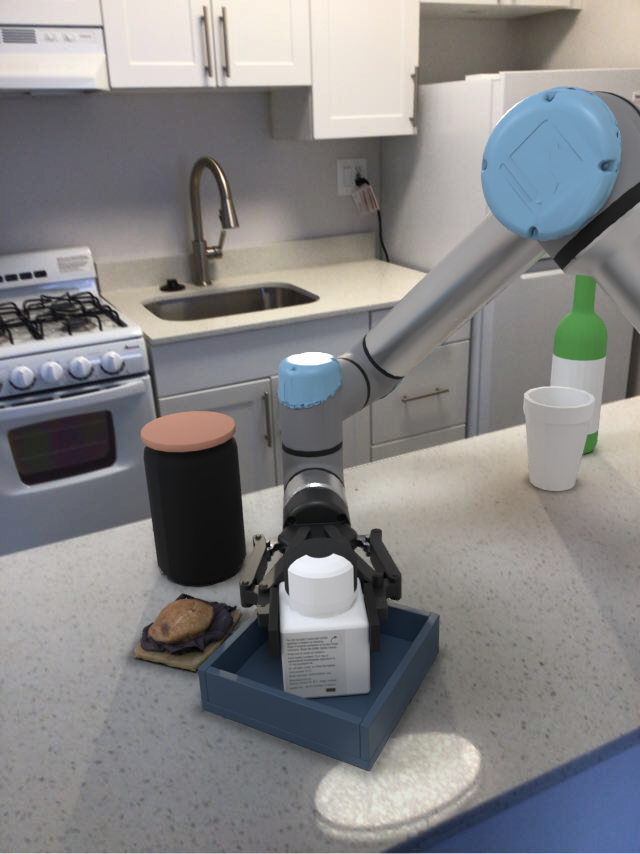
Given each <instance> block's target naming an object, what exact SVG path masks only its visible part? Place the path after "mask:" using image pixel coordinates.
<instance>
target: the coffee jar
mask: <svg viewBox="0 0 640 854" xmlns="http://www.w3.org/2000/svg"><path fill="white" fill-rule="evenodd" d="M235 421H236V420H235V419H234V418H232V417H231V416H229V415H227V414H224V413H221V412H216V411H210V410H209V411H208V410H189V411H181V412H175V413H171V414H166V415H163V416H160V417H157V418H154V419H153V420H151V421H149V422H148V423H146V424H144V426H143V427H142V428H141V430H140V438H141V442H142V443H143V444H144V445H145V447H144V449H143V464H144V472H145V480H146V487H147V496H148V501H149V502H148V503H149V509H150V517H151V525H152V533H153V540H154V541H153V542H154V548H155V554H156V564H157V567H158V568H159V570H160V571H161V572H162V574H163V575H164V576H166V578H167V579H168V580H170V581H171V582H173V583H175V584H178V585H182V586H186V587H203V586H211V585H215V584H217V583H220V582H223V581H226V580H227V579H229V578H231V577H233V576H234V575H235V574H236V573H237V572H238V571H239V570H240V568H241V566H242V565H243V563H244V561H245V559H246V556H247V545H246V532H245V520H244V518H245V517H244V506H243V496H242V484H241V483H242V482H241V473H240V460H239V459H240V458H239V448H238V444H237V440H236V438H235V437H234V435H235V433H236V431H237V430H236V429H237V426H236V422H235Z"/></svg>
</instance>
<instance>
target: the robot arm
mask: <svg viewBox="0 0 640 854" xmlns="http://www.w3.org/2000/svg"><path fill="white" fill-rule="evenodd" d="M480 182H481V189H482V193H483V197H484V199H485V202H486V205H487V207H488V209H489V210H490V212H489V213H488V214H487V215H485V216H484V217H483V219H481V220H480V221H479V222H478V224H477V225H475V227H473V228H472V229H471V230H470V231H469V232H468V233H467V234H466V235H465V236H464V237H463V238H462V239H461V240H460V241H459V242H458V243H457V244H456V245H455V246H454V247H453V248H452V249H451V250H450V251H449V252H448V253H447V254H446V255H445V256H444V257H443V258H442V259H441V260H440V261H438V262H437V264H435V266H434V267H432V268H431V270H430V271H428V272H427V273H426V274H425V275H424V276H423V278H421V279H420V280H419V281H418V282H417V283H416V284H415V285H414V286H413V287H412V288H411V289H410V290H409V291H408V292H407V293H405V295H404V296H403V297H402V298H401V299H400V300H399V301H398V302H397V303H396V304H395V305H394V306H393V307H391V308H390V310H388V312H386V314H384V316H383V317H381V318H380V320H378V321H377V322H376V323H375V324H374V326H372V327H371V328H370V329H369V330H367V332H366V334H365V335H363V336H362V337H361V338H360V339H359V340H358V341H357V342H356V343H355V344H354V345H353V346H352V347H351V348H350V349H349V350H347V351H346V352H345V353H343V354H341V355H339V356H337V357H336V356H335V355H332V354H329V353H324V352H318V351H317V352H315V351H314V352H313V351H311V352H301V353H300V354H292V355H289V356H287V357H285V358H284V359H282V361H281V362H280V363H279V364H278V369H277V371H278V372H277V374H278V376H277V377H278V378H277V379H278V381H277V383H278V385H277V387H278V388H277V393H276V396H277V400H278V411H279V427H280V437H281V438H280V439H281V462H282V478H283V497H282V531H281V532H280V533H279V534H278V536H277V538H271V539H269V538H267V539H266V538H265V535H264V534H261V533H256V534H254V535H253V536H252V545H253V548H252V551H251V554H250V556H249V558H248V561H247V563H246V565H245V567H244V571H243V572H242V575H241V577H240V579H239V583H238V584H239V586H238V587H239V598H240V599H239V600H240V606H241V607H242V608H244V609H249V608H252V607H253V606H256V610H257V619H258V625H259V627H268V635H269V649H270V657H279V630H280V612H279V584H280V583H281V582H284V567H283V557H284V555H285V553H286V552H287V551H288V550H289V549H290V548H291V547H292V546H293V545H295V544H297V543H299V542H301V541H304V540H308V539H313V538H330V539H336V540H339V541H342V542H344V543H346V544H347V545H349V546H350V547H351V548H352V549H353V550H354V551H355V553H356V555H357V578H359V580H360V584H361V589H362V593H363V595H364V603H365V607H366V612H367V617H368V621H369V641H370V647H371V652H378V651H380V624H379V621H387V619H388V603H387V601H388V599H390V600H392V601H400V600H401V599H402V597H403V595H402V593H403V592H402V591H403V590H402V589H403V585H402V583H403V575H402V572H401V571H400V569H399V568H398V566H397V564H396V562H395V560H394V559H393V557H392V556H391V554H390V551H389V550H388V548H387V547H386V545H385V543H384V541H383V530H382V529H381V528H372V529H371V530H370V533H369V534H358V532H357V530H355V528H353V527H352V521H351V517H350V516H351V515H350V511H349V503H348V498H347V492H346V487H345V477H344V476H345V475H344V449H343V448H344V447H343V445H344V443H343V442H344V441H343V439H344V438H343V422H344V421H345V420H347V419H349V418H350V417H353V415H355V414H357V413H358V412H361V411H362V410H363V409H365V408H366V407H368V406H370V405H372V404H374V403H375V402H378V401H380V400H382V399H384V398H386V397H387V396H388V395H390V394H391V393H393V392H394V391H395V390H396V389H397V388H398V387H399V386H400V384H401V383H402V381H403V379H404V378H405V377H406V376H407V375H408V374H410V373H411V372H412V371H413V370H414V369H415V368H416V367H418V366H419V365H420V364H421V363H423V361H424V360H426V359H427V358H428V357H429V356H430V355H432V354H433V353H434V352H435V351H436V350H437V349H438V348H439V347H440V346H442V345H443V344H444V343H445V342H446V341H448V340H449V339H450V338H451V337H452V336H454V334H455V333H457V332H458V331H459V330H460V329H461V328H463V326H465V325H466V324H467V323H468V322H470V321H471V319H472V318H474V317H475V316H476V315H477V314H479V313H480V312H481V311H482V310H483V309H484V308H485V307H486V306H487V305H489V304H490V303H491V302H492V301H493V300H494V299H496V298H497V297H498V296H499V295H500V294H501V293H502V292H504V291H505V290H506V289H507V288H508V287H510V286H511V285H512V284H513V283H514V282H515V281H516V280H517V279H519V278H520V277H521V276H523V274H524V273H526V272H527V271H528V270H529V269H530V268H531V267H533V265H535V264H536V263H537V262H539V260H541V259H542V258H543V257H544V256H545V255H546V254H547V255H548V256H549V257H550V258H551V259H552V260H553V262H554V264H556V265H557V266H558V267H559V269H560V270H561V271H562V273H564V275H574V276H576V275H586V276H589V277H592V278H593V279H594V280H595V282H596V285H598V286H599V288H600V289H601V290H602V291H603V293H604V294H605V295H606V296H607V297H608V298H609V300H610V301H611V302H612V303H613V304H614V306H615V307H616V308H617V309H618V311H620V312H621V314H622V315H623V316H624V317H625V318H626V320H627V321H628V322H629V323H630V324H631V325H632V326H633V328H634V329H635V330H636V331H637V333H638V334H639V335H640V107H639V106H638V105H637V104H636V103H635V102H634V101H632V100H631V99H628V98H627V97H624V96H623V95H620V94H618V93H615V92H610V91H602V90H587V89H585V88H581V87H578V86H565V85H564V86H556V87H555V86H554V87H552V88H549V89H545V90H542V91H539V92H536V93H534V94H531V95H529V96H527V97H525V98H524V99H522V100H520V101H518V102H517V103H515V104H514V105H513V106H512V107H510V108H509V109H508V110H507V111H506V112H505V113H504V115H503V116H502V117H501V118H500V119H499V120H498V121H497V123H496V124H495V126H494V127H493V129H492V131H491V133H490V135H489V137H488V138H487V141H486V144H485V146H484V149H483V153H482V159H481V171H480ZM357 548H361V549H362V551H363V552H364V553H365V557H367V558H369V561H370V564H371V565H370V564H368V562H366V560H364V559H363V558H362V556H360V554H358V553H357V552H356V550H357ZM276 552H278V553H280V554H281V556H280V558H279V559H278V560H277V561H276V563H275V564H274V565H273V567H271V569H270V570H269V571H268V572H267V569H268V566H269V565H268V563H269V562H272V560H273V559H272V557H273V556H274V555H275V554H276ZM266 572H267V574H266Z"/></svg>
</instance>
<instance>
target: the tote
mask: <svg viewBox="0 0 640 854" xmlns="http://www.w3.org/2000/svg"><path fill="white" fill-rule="evenodd" d="M363 598H364V595H363ZM387 603H388V619H387V621H379V624H380V651H378V652H371V647H370V692H369V693H368V694H360V695H347V696H334V697H321V698H308V699H305V698H302V697H299V696H296V695H293V694H291V693H288V692H285V691H284V682H283V667H282V652H281V638H280V630H279V657H270V649H269V635H268V627H259V625H258V619H257V609H256V610H255V611H254V612H253V613H252V614H251V615H250V616H249V617H248V618H247V619H246V620H245V621H244V622H243V623H242V624H241V625H240V626H238V628H237V629H236V630H234V632H232V634H231V635H230V636H229V637H227V638H226V639H225V640H224V641H223V644H221V645H219V646H220V647H219V648H218V649H217V650H215V652H214V653H212V655H211V656H210V657H209V658H208V659H207V660H206V661H205V662H204V663H203V664H202V665H201V666H200V667H199V668H198V669H197V674H198V683H199V688H200V689H199V690H200V699H201V707H202V709H203V710H204V711H207V712H211V713H213V714H216V715H218V716H221V717H224V718H226V719H229V720H232V721H234V722H237V723H240V724H243V725H244V726H248V727H251V728H252V729H255V730H258V731H261V732H263V733H266V734H269V735H272V736H274V737H277V738H280V739H283V740H284V741H288V742H291V743H293V744H296V745H299V746H301V747H304V748H306V749H309V750H311V751H314V752H317V753H320V754H322V755H326V756H328V757H331V758H333V759H336V760H339V761H342V762H344V763H346V764H350V765H352V766H355V767H358V768H360V769H363V770H365V771H368V772H370V771H371V769H372V767H373V766H374V764H375V763H376V761H377V759H378V757H379V756H380V754H381V752H382V751H383V749H384V747H385V746H386V744H387V742H388V740H389V739H390V737H391V735H392V733H393V732H394V730H395V728H396V726H397V725H398V724H399V721H400V720H401V718H402V716H403V714H404V713H405V711H406V709H407V708H408V706H409V704H410V703H411V701H412V699H413V698H414V695H415V694H416V692H417V690H418V689H419V687H420V685H421V683H423V680H424V679H425V677H426V675H427V673H428V672H429V670H430V668H431V667H432V665H433V663H434V662H435V660H436V658H437V656H438V655H439V653H440V620H441V619H440V617H441V616H440V614H438V613H435V612H431V611H427V610H424V609H420V608H416V607H412V606H408V605H404V604H401V603H397V602H393V601H389V600H387ZM369 645H370V641H369Z"/></svg>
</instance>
